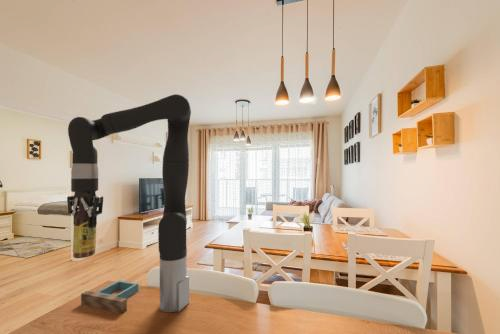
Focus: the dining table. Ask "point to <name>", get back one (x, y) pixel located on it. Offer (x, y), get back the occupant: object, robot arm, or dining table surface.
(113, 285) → the square collar
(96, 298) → the walnut rail
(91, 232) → the sauce bottle
